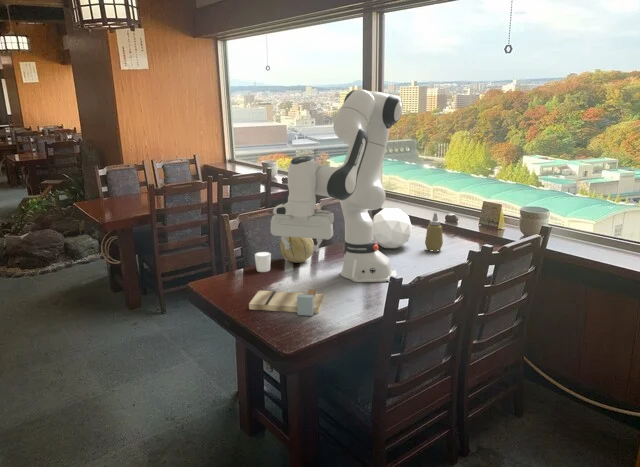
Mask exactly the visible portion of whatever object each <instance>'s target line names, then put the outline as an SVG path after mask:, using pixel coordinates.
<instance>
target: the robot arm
mask: <svg viewBox="0 0 640 467" xmlns="http://www.w3.org/2000/svg"><path fill="white" fill-rule="evenodd" d="M402 101H403V100H402V98H400V97H399V96H397V95H395V94H392V93H391V94H389V93H386V92H381V91H371V90H366V89H361V88H360V89H353V90H350V91H348V93H347V94H346V95H345V98H344V100H343V104H342V105H341V107H340V108H339V110H338V112H337V114H336V116H335V118H334V120H333V124H332V125H333V131H334V133H335V135H336V137H337V138H338V139H339V140H340V141H341V142H342V143H344V144H345V145H347V146H349V147H348V150H347V153H346V155H345V158H344V161H343V163H342V164H341V165H340V166H336V167H335V166H328V165H322V164H320V163H318V162H317V161H315V158H314V157H312V156H309V155H303V156H302V155H301V156H296V157H294V158H292V159H291V160H290V162H289V165H288V172H287V188H288V196H287V202H284V203H281V204H277V205H276V206H275V207H274V208H273V209H272V210H273V212H272V213H273V215H272V217H271V219H270V228H269V229H270V234H271V235H272V236H276V237H281V239H282V241H283V243H284V244H285V249H286V250H290V248H291V243H288V241H287V240H286V238H287V237H300V238H312V239H314V240H315V239H316V242H317V244H316V245H315V244H314V246H313V253H315V252H316V253H317V252H319V249H320V245H321V243H322V242H323V240H330V239H332V237H333V236H334V227H333V226H334V225H333V223H334V222H335V215H334V213H333V212H332V211H330V210H329V209H325V210H324V209H318V208H316V207H317V206H316V205H317V204H316V203H317V198H316V195H318V196H321V197H328V198H333V199H336V200H339V201H338V202H339V203H340V207H341V212H342V214H343V220H344V240H343V255H344V256H343V264H342V269H341V272H340V275H341V276H342V277H343V278H346V279H348V280H350V281H352V282H354V283H378V282H379V283H383V282H386V281H388V280H389V277H390V276H394V277H396V278H397V275H398V274H397V270H396V269H395V268H393V267H392V264H391V259H390V258H389V257H388V256H386V254H384V253H383V252H381V251H379V244H378V243H377V241H376V242H375V241H374V240H373V218H372V217H371V216H370V214H369V211H375V210H379V209H380V208H382V206H383V205H384V204H385V201H386V197H387V196H386V191H385V189H384V186H383V182H382V168H383V167H382V165H383V161H384V157H385V154H386V149H387V146H388V141H389V137H390V136H389V135H390V129H391V128H392V126H394V125H396V124H397V123H398V122H399V120H400V119H401V116H402V114H403V108H404V107H403V102H402ZM281 239H280V240H281ZM388 282H389V281H388Z"/></svg>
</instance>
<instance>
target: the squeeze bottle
mask: <svg viewBox="0 0 640 467" xmlns="http://www.w3.org/2000/svg"><path fill="white" fill-rule="evenodd" d="M443 243H444V241H443V226H442V225H441V220H440V219H439V218H438V213H437V212H434V213H433V216H432V219H430V220H429V224H428V226H427V228H426V235H425V241H424V245H425V247H426V250H427V249H428V250H433V251H437V250H440V251H441V249H442V247H443ZM428 250H427V251H428Z"/></svg>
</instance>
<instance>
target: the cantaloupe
mask: <svg viewBox="0 0 640 467" xmlns="http://www.w3.org/2000/svg"><path fill="white" fill-rule="evenodd" d="M313 239H314V238H300V237H287V238H286V240H287V241H288V243H291V248H290V250H286V249H285V244H284V243H283V241H282V239H280V243H279V247H280V253H281V254H282V256H283V258H284V259H285V260H287V261H289V262H290V263H296V264H297V263H303V262H306V261H307V260H309V259H310V257H311V256H312V255H313V253H314V252H313V246H314V245H315V243H314V240H313Z"/></svg>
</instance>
